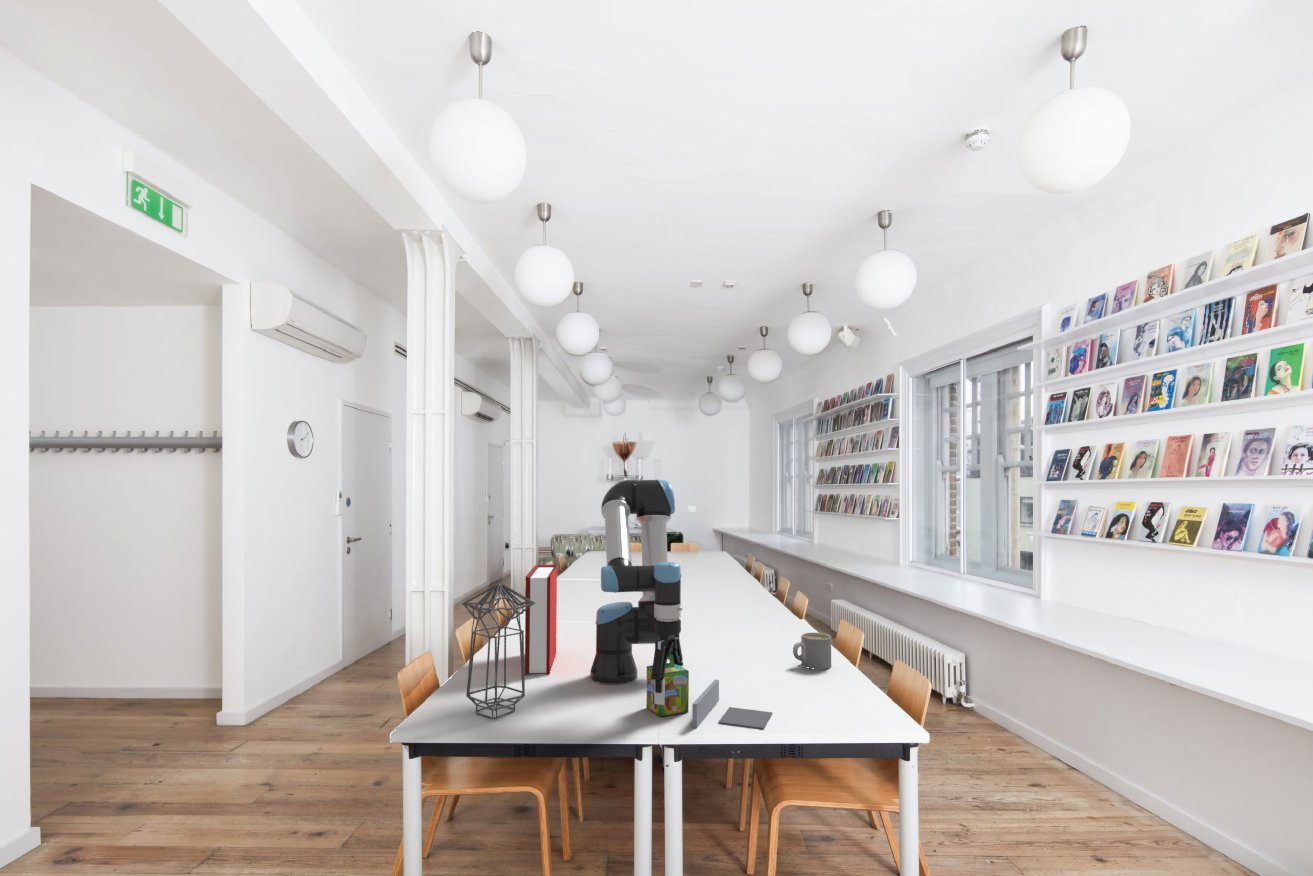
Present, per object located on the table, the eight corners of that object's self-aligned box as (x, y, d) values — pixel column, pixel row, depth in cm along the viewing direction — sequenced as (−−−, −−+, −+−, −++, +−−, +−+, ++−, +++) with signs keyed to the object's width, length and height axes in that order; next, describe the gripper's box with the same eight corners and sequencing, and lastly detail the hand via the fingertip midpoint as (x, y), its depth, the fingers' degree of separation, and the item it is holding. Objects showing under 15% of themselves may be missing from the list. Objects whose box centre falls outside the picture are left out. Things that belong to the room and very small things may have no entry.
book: (549, 675, 220) (550, 576, 222) (524, 675, 219) (525, 576, 221) (556, 652, 247) (557, 564, 249) (534, 653, 247) (535, 565, 248)
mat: (718, 723, 177) (718, 721, 178) (729, 708, 189) (729, 707, 189) (763, 729, 173) (763, 727, 173) (772, 713, 185) (772, 712, 185)
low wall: (692, 727, 175) (692, 703, 175) (714, 700, 195) (714, 679, 196) (696, 728, 174) (696, 704, 175) (718, 701, 195) (718, 680, 195)
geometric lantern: (455, 713, 185) (458, 584, 188) (502, 699, 197) (504, 578, 200) (489, 726, 175) (493, 589, 178) (537, 711, 187) (539, 583, 190)
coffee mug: (826, 661, 236) (825, 632, 237) (835, 669, 226) (834, 639, 227) (788, 661, 236) (788, 632, 236) (796, 670, 226) (795, 639, 226)
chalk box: (660, 718, 181) (660, 662, 182) (645, 707, 190) (645, 654, 190) (690, 712, 186) (689, 657, 186) (673, 702, 194) (673, 650, 195)
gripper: (665, 629, 176) (665, 712, 175) (693, 611, 199) (693, 685, 198) (638, 626, 179) (638, 709, 178) (669, 609, 202) (669, 682, 201)
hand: (667, 696), depth 188 cm, fingers closed on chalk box, 12 cm apart
